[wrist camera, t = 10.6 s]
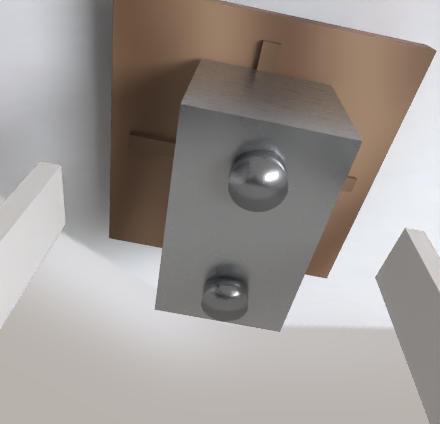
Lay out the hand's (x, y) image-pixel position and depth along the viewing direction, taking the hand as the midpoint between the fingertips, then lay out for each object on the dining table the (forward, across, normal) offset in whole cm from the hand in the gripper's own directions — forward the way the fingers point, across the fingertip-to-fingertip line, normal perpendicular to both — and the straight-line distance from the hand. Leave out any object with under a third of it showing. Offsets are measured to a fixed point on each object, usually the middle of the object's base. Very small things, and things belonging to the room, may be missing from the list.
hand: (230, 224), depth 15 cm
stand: (+9, +1, -1) cm, 9 cm away
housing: (+6, +1, -1) cm, 6 cm away
